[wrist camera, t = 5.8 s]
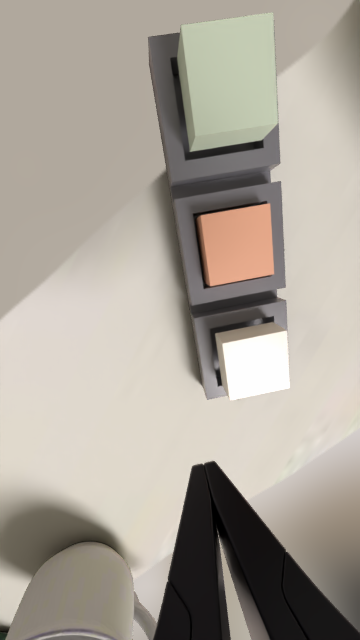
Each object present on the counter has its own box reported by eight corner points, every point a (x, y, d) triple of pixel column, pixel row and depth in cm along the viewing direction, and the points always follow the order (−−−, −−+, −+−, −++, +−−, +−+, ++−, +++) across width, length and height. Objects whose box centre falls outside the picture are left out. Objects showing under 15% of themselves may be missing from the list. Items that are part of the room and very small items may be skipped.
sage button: (177, 58, 13) (181, 24, 11) (256, 47, 13) (273, 12, 11) (190, 151, 14) (195, 136, 12) (261, 140, 14) (277, 123, 13)
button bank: (149, 64, 15) (148, 36, 13) (258, 48, 15) (273, 19, 13) (202, 386, 21) (207, 399, 20) (277, 370, 22) (289, 382, 20)
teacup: (16, 576, 26) (-43, 714, 18) (70, 509, 24) (29, 632, 16) (127, 609, 29) (117, 738, 21) (181, 554, 27) (191, 672, 20)
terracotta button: (195, 219, 17) (200, 215, 15) (257, 208, 17) (270, 203, 15) (204, 282, 18) (210, 286, 16) (261, 271, 18) (274, 274, 16)
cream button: (214, 333, 18) (222, 343, 16) (272, 322, 18) (287, 330, 16) (222, 385, 19) (229, 400, 17) (276, 374, 19) (289, 387, 17)
